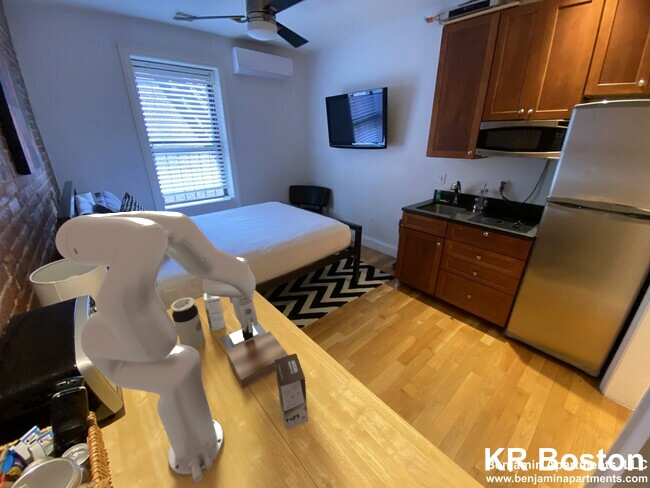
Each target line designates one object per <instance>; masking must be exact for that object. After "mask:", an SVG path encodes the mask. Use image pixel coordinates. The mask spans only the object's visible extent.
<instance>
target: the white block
mask: <svg viewBox="0 0 650 488" xmlns="http://www.w3.org/2000/svg"><path fill="white" fill-rule="evenodd" d="M252 327H253V325H252ZM240 329H241V328H240ZM238 330H239V329H238ZM253 331H254V332H253V338H251V339H248V340H246V341H245V340H244V338H243V334H242V329H241V330H239V331H237V332H234V331H233V332H234V333H232V334H230V335H229V337H230V340H231V342H232V344H233V346H234V347H236V346H238V345H240V344H243V343H245V342H247V341H249V340H252V339H254V338H256V337H258V336H259V335H258V333H257V331H256V330H255V328H254V327H253Z"/></svg>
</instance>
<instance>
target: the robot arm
mask: <svg viewBox="0 0 650 488" xmlns="http://www.w3.org/2000/svg"><path fill="white" fill-rule="evenodd" d="M55 246H56V249H57V251H58V253H59V254H60V255H61V256H62V257H63V258H65V259H66V260H68V261H69V262H71V263H73V264H76V265H81V266H89V267H91V266H92V267H93V266H94V267H106V268H108V267H109V268H108V270H107V272H106V274H105V276H104V278H103V279H102V280H103V281H102V283H101V285H100V287H99V288H98V291H97V294H96V297H95V301H94V302H95V305H94V306H95V309H96V312H95V313H93V314H92V315H91V316H89V318H88V319H87V320H86V322H85V323H84V325H83V326H82V329H81V332H80V346H81V350H82V352H83V353H84V355H85V356H86V358H87V359H88V360H89V361H90V363H92V364H93V365H94V367H96V368H97V370H98V371H99V372H100V373H101V374H102V375H103V376H104V377H105V378H106V379H107V380H108V381H109V382H111V384H113V385H115V386H117V387H120V388H122V389H126V390H133V391H134V390H135V391H142V392H146V393H153V394H157V395H159V398H158V401H157V405H156V408H157V409H156V410H157V414H158V416H159V419H160V421H161V423H162V426H163V428H164V430H165V433H166V436H167V438H168V441H169V443H170V445H169V450H168V453H167V454H168V455H167V460H168V465H169V467H170V468H171V470H172V471H173V472H174V473H175V474H178V475H180V476H192V480H193V483H195V484H196V483H199V482H200V481H202V479H203V478H204V473H203V470H205V469H206V470H208V469H210V468H211V467H212V466H213V462H214V460H215V459H216V458H217V456H218V455H219V453H220V452H221V450H222V448H223V444H224V436H225V435H224V429H223V427H222V425H221V423H220V422H218V420H215V419H213V416H212V412H211V409H210V405H209V401H208V397H207V394H206V391H205V386H204V381H203V375H202V374H203V373H202V364H203V363H202V356H201V354H200V352H199V351H198V349H197V350H196V349H194V348H193V347H190V346H187V345H183V344H180V343H178V340H179V337H178V334H177V330H176V327H175V323H174V320H173V318H172V317H171V316H170V314H169V312H168V310H167V308H166V306H165V305H164V303H163V301H162V299H161V297H160V295H159V293H158V291H157V281H158V277H159V274H160V270H161V269H162V266H163V263H164V262H165V258H166V256H168V257H169V258H170V259H172V260H173V262H175V263H176V264H177V265H179V266H180V267H181V268H182V269H183V270H184V271H185V272H186V273H188V274H190V275H192V276H195V277H198V278H201V279H203V282H202V289H203V291H204V294H205V293H206V294H208V295H211V296H218V297H220V298H229V302H230V303H231V304H232V305H233V311H234V315H235V317H236V319H237V321H238V322H239V324H240V327H241V328H242V334H243V338H244V340H245V341H246V340H248V339H251V338H253V332H254V331H253V327H252V324H254V325H255V326H256V325H258V322H259V321H258V316H257V312H256V307H255V304H254V301H253V299H254V293H255V291H256V285H257V283H256V282H257V281H256V279H255V275H254V273H253V271H252V270H251V268H250V264H249V263H250V262H249V261H248V259H246V258H245V257H240V256H237V257H236V256H233V255H231V254H229V253H228V252H225V250H224V251H223V250H221V249H219V248H217V247H216V246H215V245H214V244H213V243H212V242H211V240H209V238H208V237H207V235H205V234H204V232H203V230H201V229H200V227H199V226H198V225H197V224H196V223H195V221H193V219H191V217H189V216H188V215H186V214H185V213H181V212H177V211H160V210H159V211H158V210H157V211H154V210H138V211H137V210H136V211H125V212H116V213H97V214H86V215H78V216H76V217H73V218H71V219H68V220H67V221H65V222H64V223H63V224H62V225H61V226H60V227H59V229H58V231H57V232H56V234H55ZM241 328H240V329H241Z"/></svg>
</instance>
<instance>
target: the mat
mask: <svg viewBox="0 0 650 488" xmlns="http://www.w3.org/2000/svg"><path fill="white" fill-rule="evenodd" d="M252 325H253V327H254V328H255V330H256V331H257V333H258V335H259V336H260V335H263V334H265V333H267V332H266V330H265V328H264V327H263V326H262V325H261V323H260V322H259V321H258V325H256V326H255V325H254V324H253V323H252ZM241 329H242V328H239V329H236V330H234V331H231V332H229V333H227V334H225V335H222V336H220V339H221V341H222V343H223V345H224V347H225V349H226V351H227V350H229V349H232V348H234V346H233V344H232V342H231V340H230V337H229V335H230V334H232V333H234V332H237V331H239V330H241Z"/></svg>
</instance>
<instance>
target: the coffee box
mask: <svg viewBox="0 0 650 488" xmlns="http://www.w3.org/2000/svg"><path fill="white" fill-rule="evenodd" d="M274 361H275V369H276V371H275V375H276V382H277V389H278V390H277V392H278V400H279V405H280V410H281V415H282V419H283V424H284V427H285V430H289V429H291V428H294V427H297V426H300V425H302V424H304V423H307V422H308V418H309V417H308V404H307V403H308V402H307V391H306V386H307V385H306V376H305V374H304V371H303V369H302V365H301V363H300V360H299V357H298V355H297V353H293V354H292V353H291V354H288V356H284V357H282V358H280V359H276V360H274Z"/></svg>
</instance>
